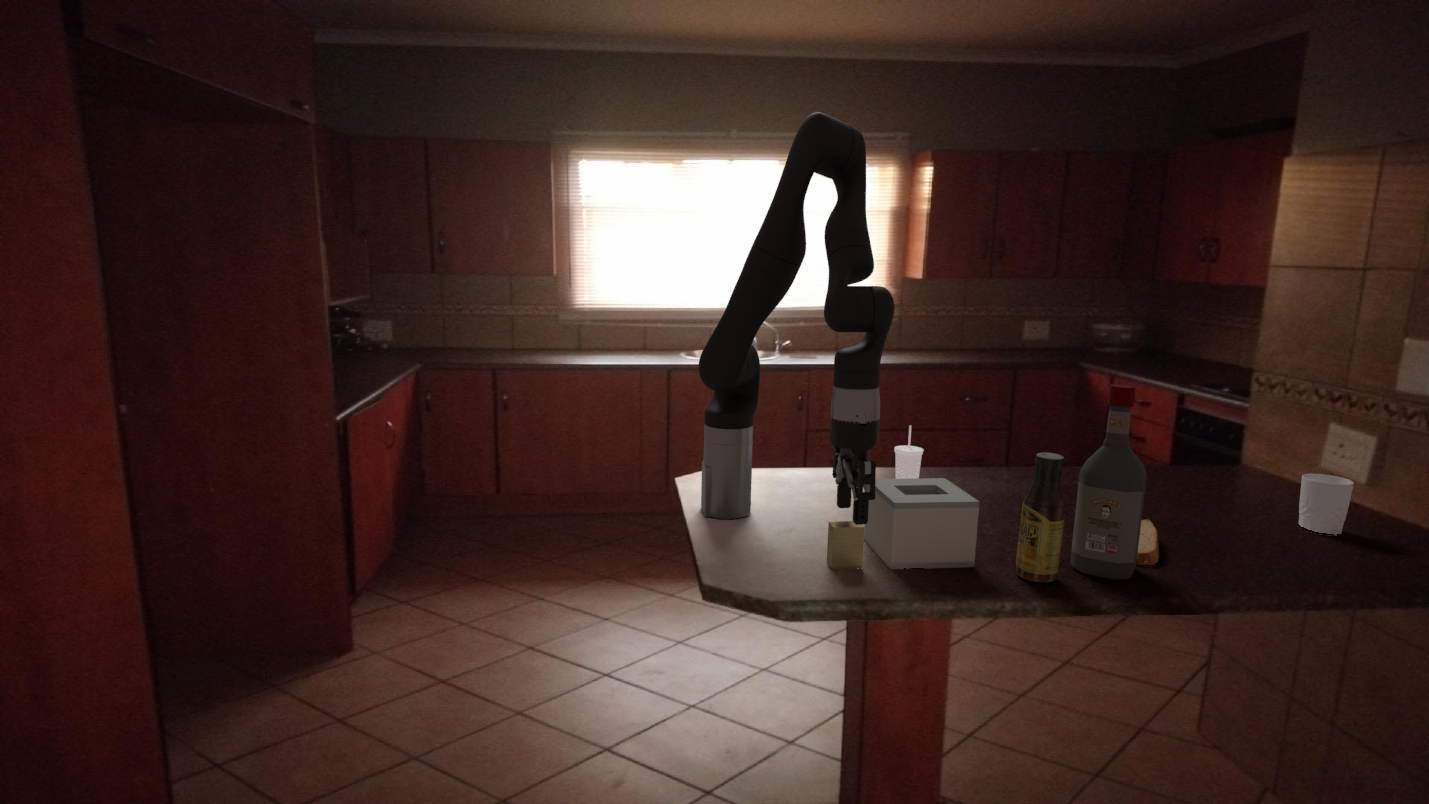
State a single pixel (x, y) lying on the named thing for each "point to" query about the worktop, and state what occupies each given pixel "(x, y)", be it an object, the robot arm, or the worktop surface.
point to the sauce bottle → (1042, 522)
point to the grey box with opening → (922, 524)
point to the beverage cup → (908, 460)
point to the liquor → (1110, 498)
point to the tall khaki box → (845, 545)
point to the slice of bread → (1148, 544)
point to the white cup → (1324, 502)
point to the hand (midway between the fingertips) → (851, 515)
